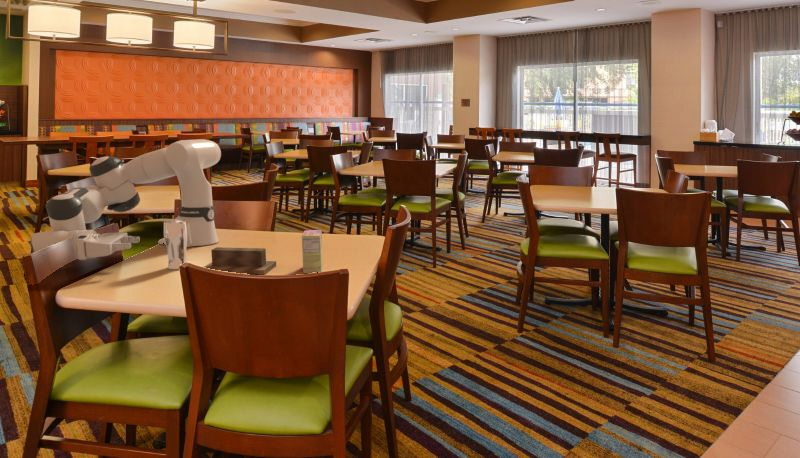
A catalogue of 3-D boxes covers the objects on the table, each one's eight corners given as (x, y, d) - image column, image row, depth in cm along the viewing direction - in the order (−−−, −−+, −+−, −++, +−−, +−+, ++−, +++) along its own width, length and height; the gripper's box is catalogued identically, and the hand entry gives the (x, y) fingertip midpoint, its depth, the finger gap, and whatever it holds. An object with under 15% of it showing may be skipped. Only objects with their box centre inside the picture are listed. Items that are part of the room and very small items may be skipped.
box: (304, 266, 198) (303, 229, 195) (322, 265, 198) (322, 229, 196) (302, 274, 187) (301, 236, 185) (321, 273, 188) (320, 235, 186)
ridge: (200, 273, 188) (199, 252, 187) (216, 264, 200) (215, 244, 199) (264, 275, 186) (263, 254, 185) (276, 265, 198) (275, 245, 197)
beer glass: (180, 264, 200) (177, 218, 197) (194, 267, 196) (191, 220, 193) (161, 268, 194) (158, 221, 192) (175, 271, 190) (172, 223, 188)
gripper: (99, 247, 200) (144, 245, 202) (77, 261, 181) (126, 259, 183) (98, 228, 199) (142, 227, 201) (75, 240, 179) (125, 238, 181)
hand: (135, 242), depth 192 cm, fingers open, 8 cm apart
